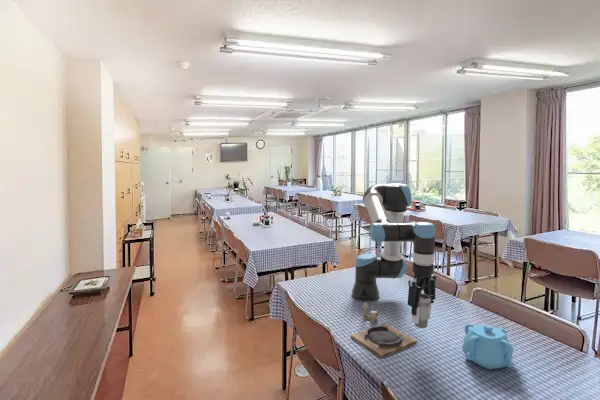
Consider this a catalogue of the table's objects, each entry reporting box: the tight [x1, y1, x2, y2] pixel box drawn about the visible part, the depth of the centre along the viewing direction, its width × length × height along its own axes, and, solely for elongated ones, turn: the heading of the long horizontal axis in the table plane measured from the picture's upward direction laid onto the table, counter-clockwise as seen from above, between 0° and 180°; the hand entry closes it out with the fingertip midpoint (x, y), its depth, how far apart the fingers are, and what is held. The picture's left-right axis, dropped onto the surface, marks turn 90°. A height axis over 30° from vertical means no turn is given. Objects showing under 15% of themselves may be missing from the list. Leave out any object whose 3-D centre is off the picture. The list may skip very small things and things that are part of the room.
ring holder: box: [350, 322, 418, 359], centre depth 138 cm, size 20×18×3 cm
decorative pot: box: [462, 323, 514, 370], centre depth 123 cm, size 16×16×14 cm
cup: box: [414, 292, 431, 329], centre depth 128 cm, size 7×7×12 cm
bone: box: [362, 302, 379, 324], centre depth 156 cm, size 9×6×10 cm
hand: (421, 320), depth 129 cm, fingers closed on cup, 6 cm apart
